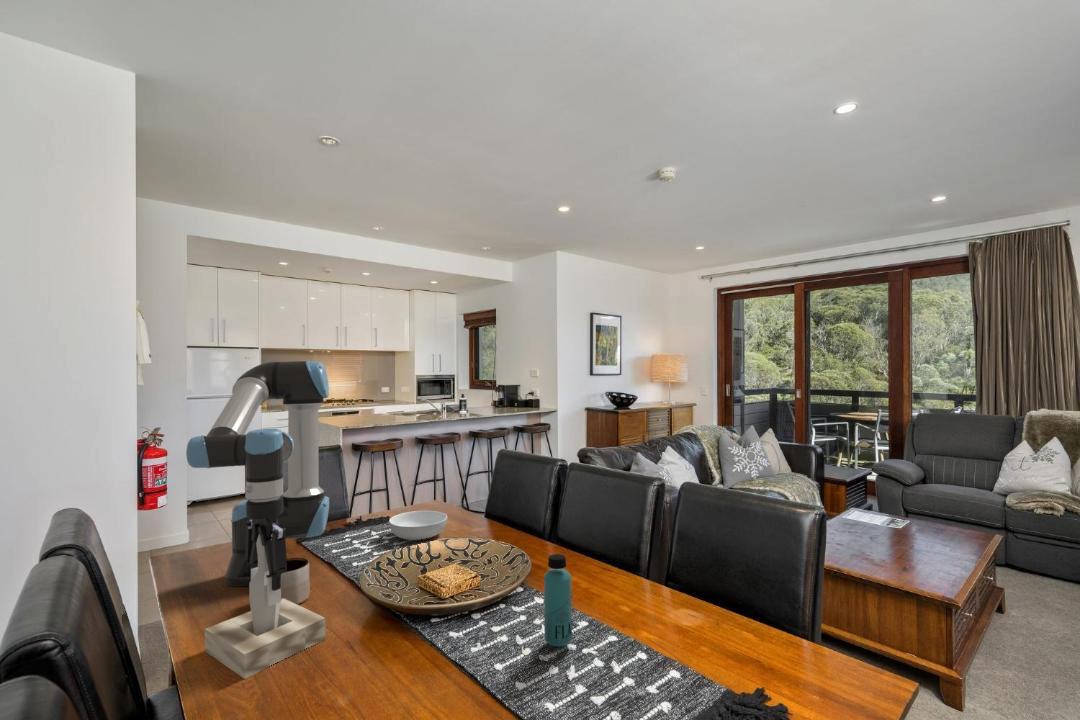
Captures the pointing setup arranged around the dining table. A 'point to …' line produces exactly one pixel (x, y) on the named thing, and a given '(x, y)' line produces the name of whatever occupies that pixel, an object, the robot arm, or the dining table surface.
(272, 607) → the low poly bottle
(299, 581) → the planter
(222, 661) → the socket block
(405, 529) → the serving bowl
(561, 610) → the beverage bottle
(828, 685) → the dining table surface
